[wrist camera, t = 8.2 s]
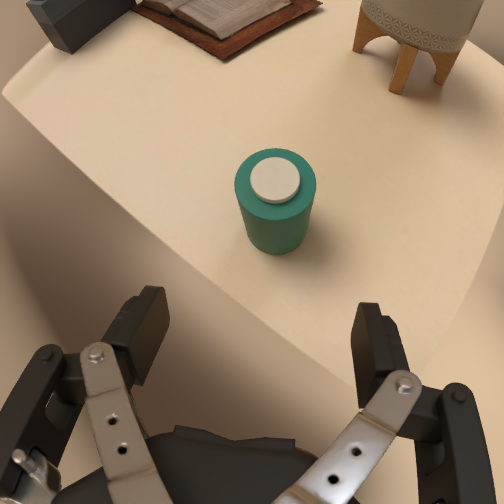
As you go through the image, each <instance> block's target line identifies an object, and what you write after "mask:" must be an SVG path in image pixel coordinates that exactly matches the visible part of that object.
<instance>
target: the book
mask: <svg viewBox="0 0 504 504" xmlns="http://www.w3.org/2000/svg"><path fill="white" fill-rule="evenodd" d="M321 4H323V3H321V2H320V1H317V0H143V1H142V2H141V3H139V4H138V5H136V6H134V7H133V8H131V9H130V10H133V11H135V12H137V13H139V14H141V15H143V16H145V17H148V18H149V19H151V20H153V21H155V22H159V24H162V26H165V27H166V28H169V29H171V30H172V31H174V32H176V33H177V34H179V35H181V36H183V37H184V38H186V39H188V40H190V41H193V43H195V44H197V45H199V46H200V47H202V48H204V49H205V50H207V51H209V52H210V53H212V54H214V55H216V56H218V57H219V58H220V59H222V60H224V59H225V58H227V56H229V55H230V54H234V53H233V52H236V51H238V50H239V49H241V48H243V47H244V46H245V45H247V44H248V43H250V42H252V41H253V40H255V39H257V37H260V36H261V35H264V33H267V32H268V31H270V30H273V29H275V28H276V27H279V26H280V25H282V24H284V23H286V22H287V21H290V20H292V19H293V18H296V16H297V17H298V16H300V15H301V14H303V13H306V12H307V11H309V9H310V10H311V9H314V8H315V7H318V5H321Z"/></svg>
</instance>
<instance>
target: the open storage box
mask: <svg viewBox="0 0 504 504" xmlns="http://www.w3.org/2000/svg"><path fill="white" fill-rule="evenodd" d="M26 5H27V7H28V8H29V10H30V11H31V13H32V14H33V16H34V17H35V19H36V20H37V22H38V23H39V25H40V26H41V28H42V29H43V31H44V32H45V34H46V35H47V37H48V38H49V40H50V41H51V43H52V44H53V46H54V47H56V48H58V49H61V50H63V51H65V52H68V53H70V54H73V53H74V52H75V51H76V50H78V49H79V48H80V47H81V46H82V45H84V44H85V43H86V42H87V41H88V40H90V39H91V38H92V37H93V36H95V35H96V34H97V33H98V32H100V31H101V30H102V29H104V28H105V27H106V26H108V25H109V24H110V23H112V22H113V21H114V20H116V19H117V18H119V17H120V16H121V15H123V14H124V13H126V12H127V11H129V10H130V9H131V8H133V7H134V6H136V5H137V4H136V1H135V0H30V1H29V2H27V3H26Z"/></svg>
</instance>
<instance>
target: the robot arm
mask: <svg viewBox="0 0 504 504" xmlns="http://www.w3.org/2000/svg"><path fill="white" fill-rule="evenodd" d="M169 322H170V316H169V310H168V305H167V299H166V294H165V289H164V288H163V287H156V286H148V285H146V286H145V287H144V289H143V290H142V292H141V293H140V295H139V296H133V297H132V298H130V299H129V300H128V301H126V302H125V304H124V305H123V306H122V308H121V310H120V312H119V313H118V314H117V316H116V318H115V319H114V320H113V322H112V323H111V325H110V327H109V328H108V330H107V331H106V333H105V335H104V336H103V338H102V339H101V341H100V342H96V343H93V344H90V345H88V346H87V347H85V349H84V350H83V351H82V352H81V353H77V354H64V353H63V351H62V349H61V348H60V347H59V346H57V345H55V344H49V345H45V346H42V347H41V348H39V349H38V350H37V351H36V352H35V354H34V355H33V357H32V359H31V360H30V362H29V363H28V365H27V366H26V368H25V370H24V371H23V373H22V375H21V376H20V378H19V380H18V381H17V383H16V385H15V386H14V388H13V390H12V391H11V393H10V395H9V397H8V398H7V400H6V402H5V404H4V405H3V407H2V409H1V411H0V500H1V501H3V502H4V503H6V504H360V503H359V502H358V501H357V500H356V499H355V498H354V496H353V495H354V494H355V492H356V491H357V490H358V488H359V487H360V486H361V485H362V484H363V482H364V481H365V480H366V478H367V477H368V476H369V474H370V473H371V472H372V470H373V469H374V468H375V466H376V465H377V463H378V462H379V460H380V459H381V458H382V456H383V455H384V453H385V452H386V451H387V449H388V447H389V446H390V445H391V443H392V441H393V440H394V438H395V437H396V436H399V437H404V438H408V439H413V440H414V444H415V453H416V464H417V477H418V493H419V494H418V495H419V504H497V502H496V495H495V488H494V482H493V476H492V470H491V464H490V459H489V454H488V450H487V445H486V440H485V436H484V432H483V428H482V424H481V420H480V416H479V412H478V409H477V405H476V402H475V398H474V396H473V393H472V391H471V390H470V389H469V388H468V387H467V386H465V385H463V384H461V383H451V384H448V385H447V386H446V387H445V388H444V389H443V390H439V389H434V388H430V387H426V386H424V385H422V384H421V381H420V380H419V378H418V377H417V376H416V375H415V374H413V373H412V372H410V369H409V366H408V362H407V359H406V355H405V352H404V348H403V345H402V344H401V338H400V336H399V332H398V328H397V325H396V324H395V322H394V321H393V320H392V319H391V318H390V317H389V316H382V315H381V311H380V308H379V305H378V303H366V302H360V303H359V305H358V308H357V312H356V316H355V320H354V324H353V327H352V332H351V349H352V356H353V364H354V371H355V379H356V388H357V396H358V405H359V409H360V408H364V409H363V410H362V412H359V413H358V414H357V415H356V416H355V417H354V418H353V420H352V421H351V422H350V423H349V424H348V426H347V427H346V428H345V429H344V430H343V431H342V433H341V434H340V435H339V436H338V437H337V439H336V440H335V441H334V442H333V443H332V444H331V445H330V447H329V448H328V449H327V450H326V451H325V452H324V453H323V454H322V455H321V457H320V458H318V457H316V456H315V455H314V454H312V453H310V452H308V451H306V450H303V449H301V448H297V447H295V439H281V438H268V437H267V438H266V437H264V438H256V439H247V440H237V441H233V440H229V439H226V438H224V437H221V436H218V435H216V434H213V433H211V432H208V431H206V430H202V429H196V428H190V427H184V426H179V425H175V428H174V431H173V432H169V433H162V434H158V435H155V436H152V437H149V435H148V433H147V431H146V429H145V426H144V424H143V422H142V419H141V417H140V414H139V412H138V409H137V407H136V404H135V402H134V399H133V396H132V393H131V391H130V390H131V388H132V386H133V384H135V385H140V386H143V384H144V382H145V379H146V377H147V375H148V372H149V370H150V368H151V366H152V363H153V361H154V359H155V356H156V354H157V352H158V350H159V348H160V345H161V343H162V341H163V339H164V337H165V334H166V332H167V330H168V327H169ZM52 393H53V395H52ZM51 395H52V397H51ZM50 397H51V398H50ZM49 399H50V400H49ZM48 401H49V402H48ZM47 403H48V405H47ZM84 404H86V408H87V413H88V417H89V421H90V425H91V428H92V431H93V436H94V439H95V442H96V446H97V449H98V453H99V456H100V459H101V462H102V465H103V466H102V467H100V468H99V469H97V470H95V471H94V472H92V473H90V474H89V475H87V476H85V477H83V478H82V479H80V480H78V481H77V482H75V483H73V484H71V485H69V486H67V487H66V488H64V489H62V490H61V487H62V486H61V476H60V472H59V471H58V469H57V468H58V465H59V463H60V460H61V457H62V455H63V452H64V450H65V447H66V445H67V442H68V440H69V438H70V435H71V433H72V430H73V428H74V426H75V423H76V421H77V419H78V416H79V414H80V412H81V410H82V407H83V405H84ZM46 405H47V406H46ZM45 407H46V408H45ZM60 490H61V491H60Z"/></svg>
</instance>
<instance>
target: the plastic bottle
mask: <svg viewBox="0 0 504 504" xmlns="http://www.w3.org/2000/svg"><path fill="white" fill-rule="evenodd" d="M234 183H235V193H236V196H237V200H238V203H239V206H240V210H241V213H242V217H243V220H244V223H245V227H246V230H247V234H248V237H249V239H250V240H251V242H252V243H253V244H254V246H256V247H257V248H258V249H259V250H261V251H263V252H265V253H269V254H275V255H277V254H284V253H288V252H290V251H292V250H294V249H295V248H296V247H298V246H299V244H300V243H301V242H302V241H303V239H304V237H305V234H306V230H307V226H308V222H309V217H310V213H311V209H312V204H313V200H314V196H315V191H316V178H315V174H314V172H313V170H312V168H311V166H310V165H309V164H308V162H307V161H306V160H305V159H304V158H302V157H301V156H300V155H298V154H296V153H294V152H292V151H289V150H285V149H277V148H274V149H265V150H262V151H259V152H257V153H255V154H253V155H251V156H250V157H248V158H247V159H246V160H245V161H244V162H243V163H242V164H241V166H240V167H239V169H238V171H237V173H236V177H235V182H234Z"/></svg>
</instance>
